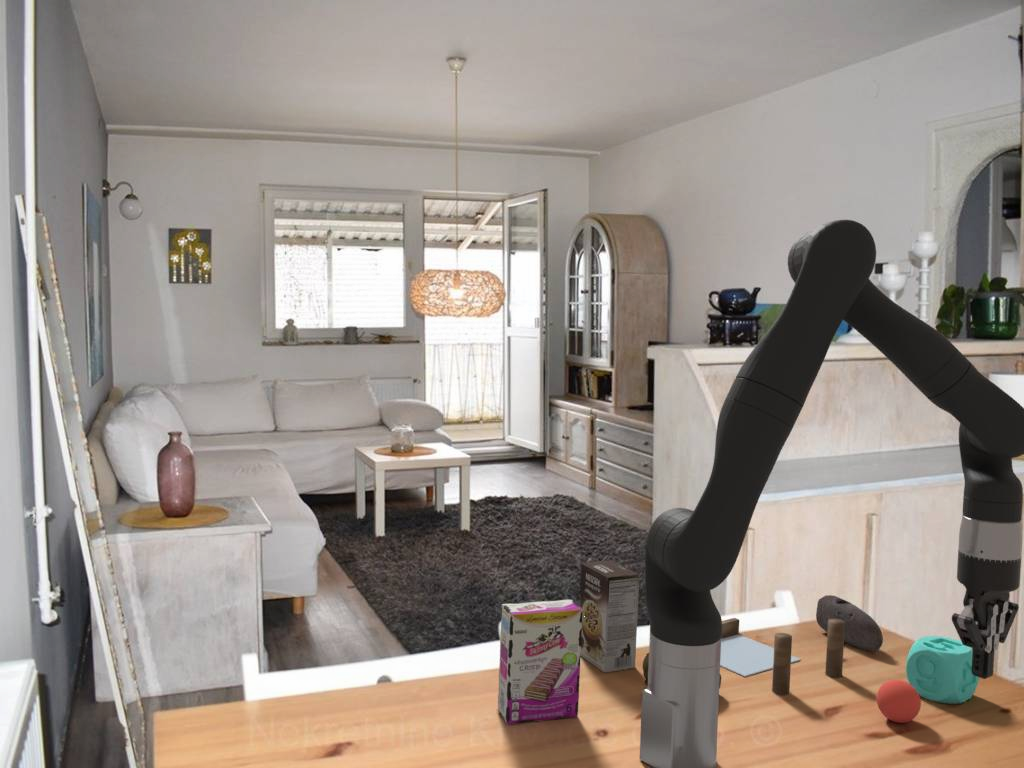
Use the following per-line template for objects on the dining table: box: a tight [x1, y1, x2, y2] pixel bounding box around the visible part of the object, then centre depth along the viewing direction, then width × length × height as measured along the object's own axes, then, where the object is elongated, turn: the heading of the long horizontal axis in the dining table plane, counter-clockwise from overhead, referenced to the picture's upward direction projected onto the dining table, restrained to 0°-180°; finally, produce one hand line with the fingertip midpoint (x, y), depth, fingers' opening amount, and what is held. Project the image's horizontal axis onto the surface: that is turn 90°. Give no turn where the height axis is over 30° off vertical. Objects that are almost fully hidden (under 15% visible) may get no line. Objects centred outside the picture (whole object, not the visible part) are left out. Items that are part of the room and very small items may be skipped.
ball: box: [876, 678, 922, 724], centre depth 137 cm, size 6×6×6 cm
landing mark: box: [720, 633, 802, 678], centre depth 162 cm, size 14×14×1 cm
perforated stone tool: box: [815, 595, 884, 652], centre depth 169 cm, size 15×5×7 cm, turn 19°
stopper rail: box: [721, 617, 740, 638], centre depth 169 cm, size 16×1×2 cm, turn 124°
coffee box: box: [579, 559, 640, 673], centre depth 157 cm, size 9×6×16 cm
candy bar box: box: [497, 599, 583, 725], centre depth 136 cm, size 11×5×16 cm, turn 108°
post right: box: [824, 619, 845, 679], centre depth 154 cm, size 3×3×9 cm
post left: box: [771, 632, 793, 696], centre depth 146 cm, size 3×3×9 cm
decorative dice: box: [905, 635, 980, 704], centre depth 147 cm, size 8×8×8 cm
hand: (982, 675), depth 127 cm, fingers closed
